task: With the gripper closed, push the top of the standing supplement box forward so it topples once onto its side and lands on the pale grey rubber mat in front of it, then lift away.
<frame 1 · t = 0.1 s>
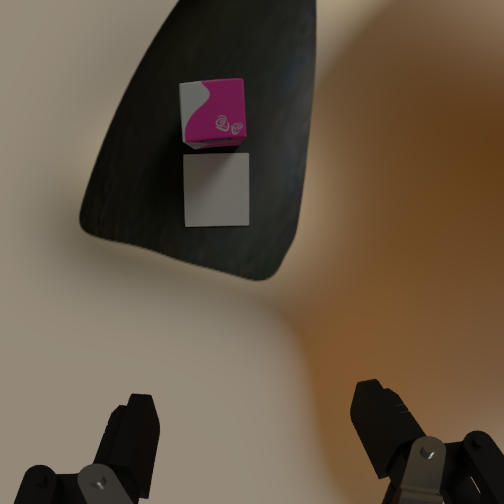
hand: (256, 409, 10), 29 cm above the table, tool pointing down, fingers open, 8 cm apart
supplement box: (216, 126, 35), on the table
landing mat: (216, 189, 37), on the table
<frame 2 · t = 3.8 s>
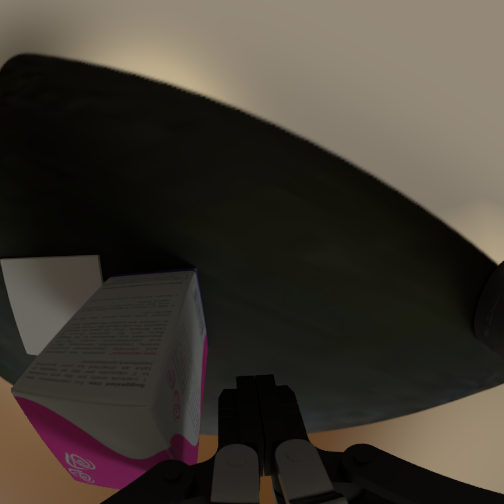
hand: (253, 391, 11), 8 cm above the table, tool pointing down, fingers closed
supplement box: (159, 311, 18), on the table, touching gripper
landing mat: (56, 311, 18), on the table
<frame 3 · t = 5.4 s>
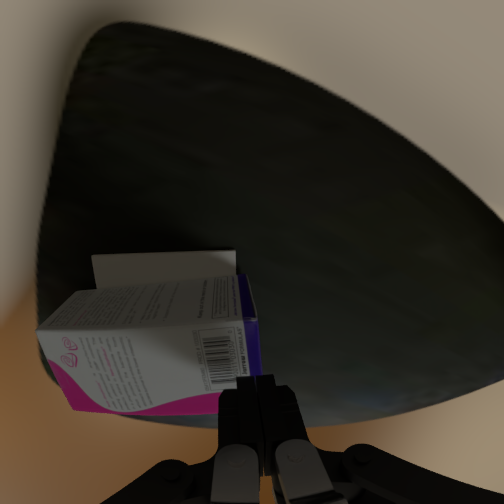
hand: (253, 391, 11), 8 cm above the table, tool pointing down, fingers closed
supplement box: (260, 338, 16), point 3 cm above the table, touching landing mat
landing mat: (166, 313, 18), on the table
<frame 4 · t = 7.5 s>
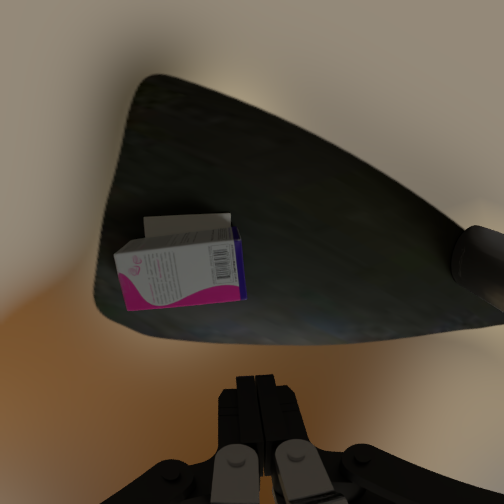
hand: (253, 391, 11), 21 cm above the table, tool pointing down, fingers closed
supplement box: (244, 260, 29), point 3 cm above the table, touching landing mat
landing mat: (188, 252, 31), on the table
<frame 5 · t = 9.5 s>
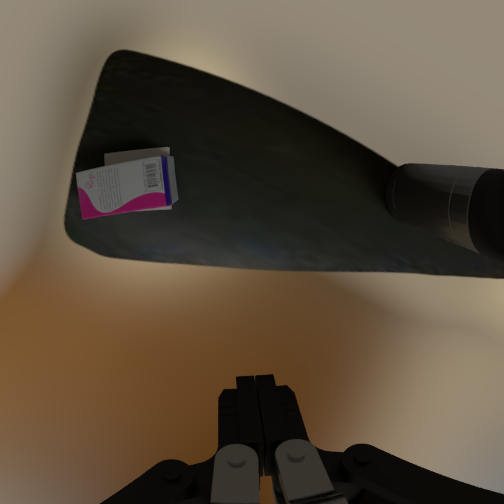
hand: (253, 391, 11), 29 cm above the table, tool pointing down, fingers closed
supplement box: (174, 179, 34), point 3 cm above the table, touching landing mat
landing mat: (137, 180, 36), on the table
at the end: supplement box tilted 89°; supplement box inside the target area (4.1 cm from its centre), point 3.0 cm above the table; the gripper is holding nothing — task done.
